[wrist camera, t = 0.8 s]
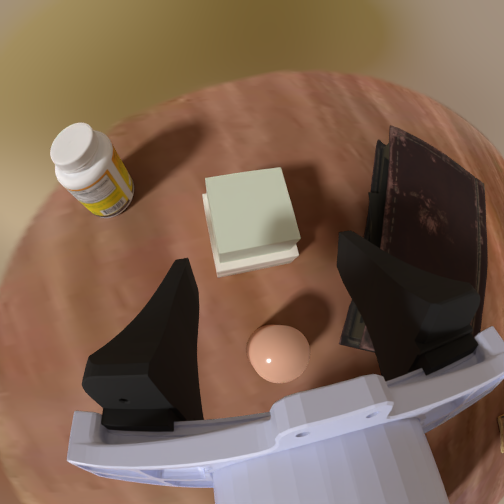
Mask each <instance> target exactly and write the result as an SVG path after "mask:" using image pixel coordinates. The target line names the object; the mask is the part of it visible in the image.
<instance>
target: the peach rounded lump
mask: <svg viewBox="0 0 504 504" xmlns="http://www.w3.org/2000/svg"><path fill="white" fill-rule="evenodd" d="M246 352H247V357H248V359H249V361H250V363H251V364H252V366H253V367H254V369H255V370H256V372H257V373H258V374H259V375H260V376H261V377H262V378H264V379H265V380H267V381H270V382H274V383H285V382H289V381H292V380H294V379H296V378H297V377H298V376H300V375H301V374H302V373H303V372H304V370H305V369H306V367H307V365H308V362H309V359H310V347H309V344H308V341H307V339H306V338H305V336H304V335H303V334H302V333H301V332H300V331H298V330H297V329H295V328H293V327H290V326H285V325H273V324H272V325H265V326H262V327H260V328H258V329H257V330H255V331H254V332H253V333H252V335H251V336H250V338H249V340H248V342H247V347H246Z"/></svg>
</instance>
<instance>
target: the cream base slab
mask: <svg viewBox="0 0 504 504" xmlns="http://www.w3.org/2000/svg"><path fill="white" fill-rule="evenodd" d="M202 195H203V203H204V209H205V215H206V220H207V226H208V231H209V236H210V241H211V247H212V252H213V257H214V262H215V267H216V272H217V277H218V278H219V277H224V276H229V275H234V274H239V273H244V272H249V271H254V270H259V269H263V268H268V267H273V266H278V265H283V264H287V263H291V262H292V261H293V260H294V259H295V258H297V257H298V256H299V253H298V249H297V245H296V244H295V245H294V246H293V247H292V248H291V249H290V250H287V251H281V252H276V253H271V254H266V255H261V256H256V257H251V258H246V259H241V260H235V261H230V262H225V263H219V258H218V253H217V248H216V242H215V237H214V232H213V227H212V221H211V216H210V211H209V205H208V200H207V193H206V194H202Z"/></svg>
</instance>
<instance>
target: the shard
mask: <svg viewBox="0 0 504 504" xmlns="http://www.w3.org/2000/svg"><path fill="white" fill-rule="evenodd" d="M497 418H498V424H499V428H500V434H501V453H504V414H503V415H501V416H499V417H497Z"/></svg>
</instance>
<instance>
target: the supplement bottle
mask: <svg viewBox="0 0 504 504" xmlns="http://www.w3.org/2000/svg"><path fill="white" fill-rule="evenodd" d="M50 154H51V158H52V160H53V162H54V163H55V172H56V176H57V179H58V181H59V182H60V183H61V184H62V186H64V187H65V188H66V189H67V190H68V191H69V192H70V193H71V194H72V195H73V196H74V197H75V198H76V199H77V200H79V201H80V202H81V203H82V204H83V205H84V206H85V207H86V208H87V209H88V210H89V211H91V212H92V213H93V214H94V215H96V216H98V217H101V218H110V217H114V216H116V215H118V214H120V213H121V212H123V211H124V210H125V209H126V208H127V207H128V205H129V204H130V202H131V200H132V197H133V194H134V184H133V180H132V178H131V176H130V175H129V173H128V171H127V170H126V168H125V166H124V164H123V163H122V161H121V159H120V157H119V156H118V154H117V152H116V150H115V148H114V147H113V145H112V143H111V141H110V139H109V138H108V137H107V136H106V135H105V134H104V133H102V132H99V131H93V129H92V128H91V127H90V126H89V125H88V124H86V123H75V124H72V125H70V126H68V127H67V128H65V129H64V130H63V131H61V132H60V134H58V136H57V137H56V138H55V140H54V142H53V144H52V147H51V153H50Z"/></svg>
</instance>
